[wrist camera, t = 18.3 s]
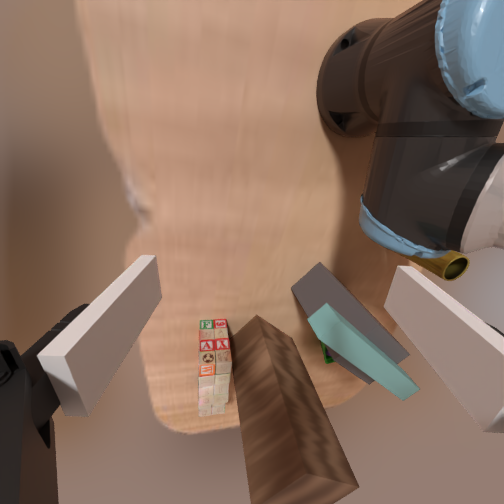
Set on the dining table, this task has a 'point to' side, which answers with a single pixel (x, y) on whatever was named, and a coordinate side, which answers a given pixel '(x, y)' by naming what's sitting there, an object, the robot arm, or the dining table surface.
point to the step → (345, 314)
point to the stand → (284, 423)
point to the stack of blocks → (213, 367)
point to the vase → (443, 264)
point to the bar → (360, 351)
